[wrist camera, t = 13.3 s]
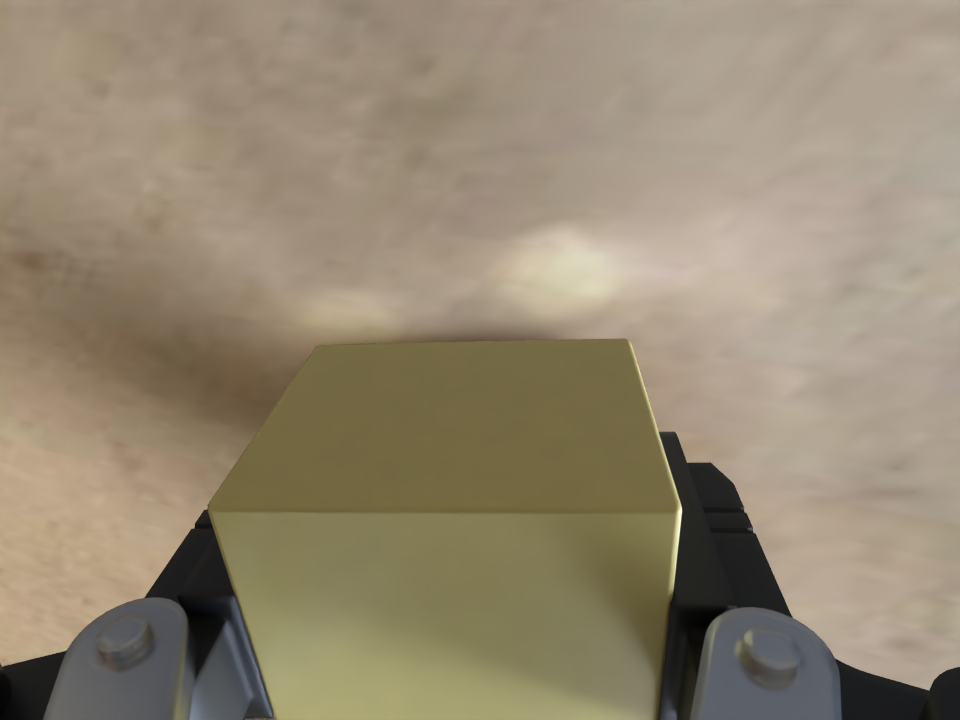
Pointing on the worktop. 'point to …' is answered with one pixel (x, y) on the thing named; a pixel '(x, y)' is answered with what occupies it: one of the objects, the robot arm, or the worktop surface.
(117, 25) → the worktop surface
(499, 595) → the butter
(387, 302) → the worktop surface
